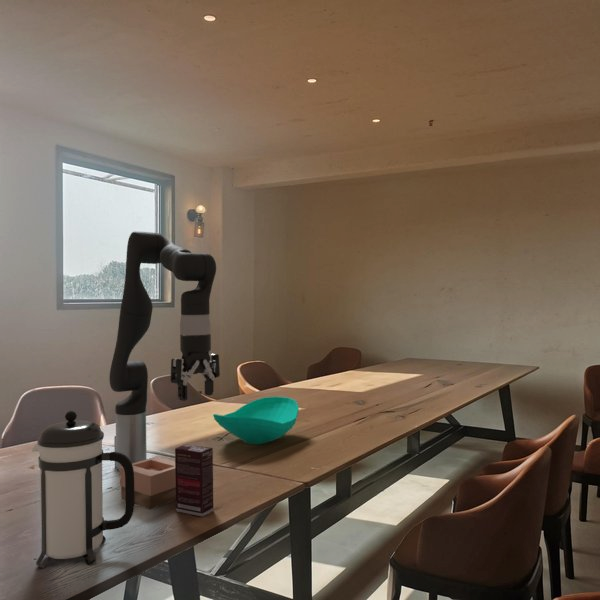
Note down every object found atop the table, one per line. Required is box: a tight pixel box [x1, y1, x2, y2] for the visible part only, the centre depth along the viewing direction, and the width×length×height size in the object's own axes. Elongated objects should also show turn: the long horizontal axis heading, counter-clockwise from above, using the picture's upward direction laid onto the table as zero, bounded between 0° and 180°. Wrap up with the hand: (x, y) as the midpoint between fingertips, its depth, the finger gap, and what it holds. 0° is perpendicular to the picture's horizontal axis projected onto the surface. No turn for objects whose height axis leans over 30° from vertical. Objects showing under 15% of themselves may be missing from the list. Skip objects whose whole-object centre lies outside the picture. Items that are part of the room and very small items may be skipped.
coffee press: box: [31, 410, 135, 569], centre depth 118 cm, size 17×16×30 cm
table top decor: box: [212, 396, 300, 445], centre depth 206 cm, size 40×28×13 cm
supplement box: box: [174, 443, 215, 518], centre depth 140 cm, size 9×5×16 cm, turn 62°
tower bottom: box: [120, 486, 176, 510], centre depth 150 cm, size 12×12×4 cm
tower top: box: [119, 456, 176, 496], centre depth 150 cm, size 13×12×5 cm
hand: (196, 397), depth 140 cm, fingers open, 8 cm apart
